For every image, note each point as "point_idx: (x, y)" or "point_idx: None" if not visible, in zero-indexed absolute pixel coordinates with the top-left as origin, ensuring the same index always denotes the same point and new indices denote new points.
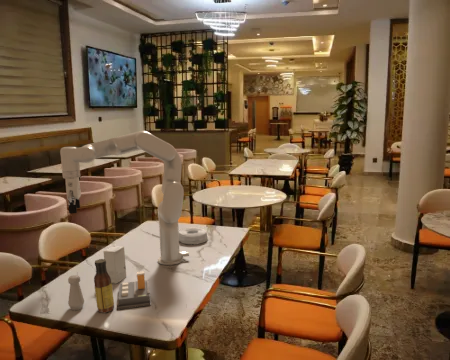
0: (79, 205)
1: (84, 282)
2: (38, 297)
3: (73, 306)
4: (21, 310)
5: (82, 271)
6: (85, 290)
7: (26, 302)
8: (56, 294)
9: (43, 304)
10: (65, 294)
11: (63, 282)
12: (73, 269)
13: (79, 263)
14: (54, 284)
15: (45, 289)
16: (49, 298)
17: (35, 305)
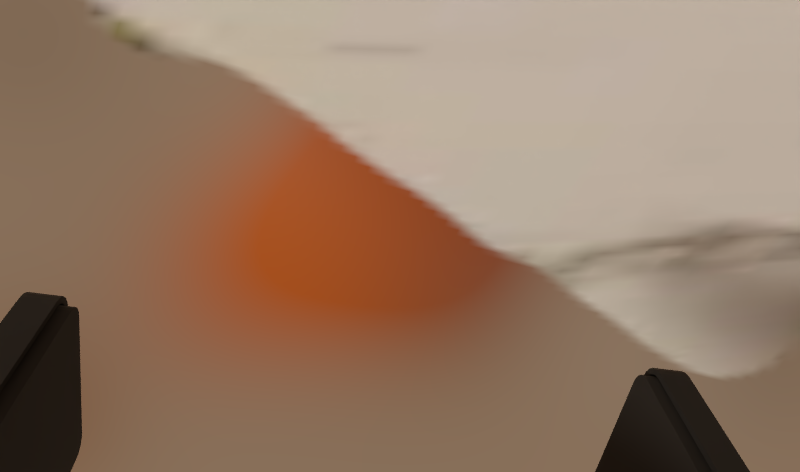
0: (27, 340)
1: (587, 4)
2: (658, 286)
3: None
4: (770, 349)
5: (339, 8)
6: (742, 4)
7: (685, 337)
8: (681, 193)
9: (775, 256)
10: (718, 140)
11: (502, 154)
12: (260, 81)
13: (125, 26)
14: (506, 209)
15: (559, 257)
16: (714, 229)
17: (757, 293)
